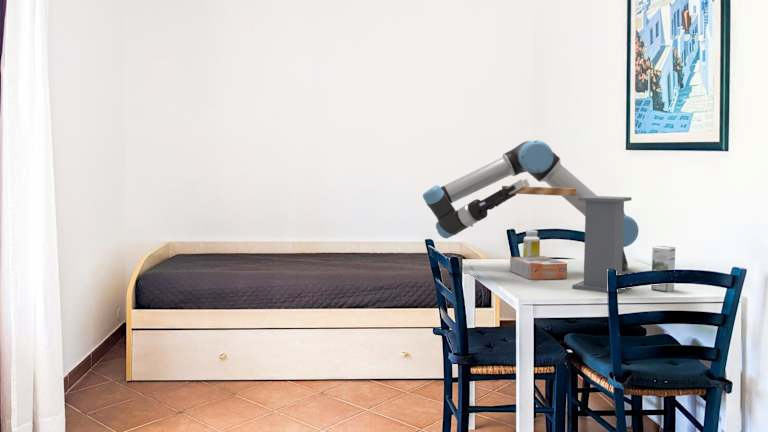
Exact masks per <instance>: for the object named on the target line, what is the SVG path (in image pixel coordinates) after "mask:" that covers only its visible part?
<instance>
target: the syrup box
mask: <svg viewBox="0 0 768 432" xmlns="http://www.w3.org/2000/svg"><path fill="white" fill-rule="evenodd" d="M651 257H652V258H651V272H652V271H654V270H675V269H676V268H675V266H676V247H675V246H668V245H667V246H666V245H665V246H664V245H656V246H655V245H654V246H652V256H651ZM650 286H651V290H652V291H659V292H667V293H668V292H672V291H674V290H675V283H674V284H659V285H652V284H651V285H650Z"/></svg>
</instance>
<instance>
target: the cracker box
mask: <svg viewBox="0 0 768 432" xmlns="http://www.w3.org/2000/svg"><path fill="white" fill-rule="evenodd" d="M509 260H510V261H509V264H510V266H509V269H510V270H509V272H511V273H513V274H516V275H518V276H521V277H524V278H525V279H528V280H530V281H533V280H558V279H559V280H560V279H567V278H568V275H567V274H568V263H567V262H564V261H560V260H557V259H555V258H551V257H548V256H544V255H540V256H532V257H523V256H511V257H510V259H509Z"/></svg>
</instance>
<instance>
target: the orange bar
mask: <svg viewBox="0 0 768 432" xmlns="http://www.w3.org/2000/svg"><path fill="white" fill-rule="evenodd" d="M509 186H510V185H502V186H501V190H503V189H505V188H507V187H509ZM512 194H516V195H517V194H518V195H537V196H559V197H560V196H561V197H562V196H576V188H552V187H551V186H548V187H547V186H546V187H545V186H529V187H523V188H521V189H519V190H518V191H516V192H514V193H512Z"/></svg>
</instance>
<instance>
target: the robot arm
mask: <svg viewBox="0 0 768 432" xmlns="http://www.w3.org/2000/svg"><path fill="white" fill-rule="evenodd" d="M523 173H528V174H529V175H531V176H532V177H533V178H534V179H535V180H536V181H537V182H539V183H540V182H544V183H546V184H547V185H548V186H549V187H552V188H576V196H561V197H563V199H565V200H566V201H567V202H568V203H569V204H570V205H572V206H573V207H574V208H575V209H577V211H579V212H580V213H581V214H582V215H583V216H584V217H585V213H586V201H580V200H578V197H586V196H598V195H597V194H596V193H595V192H594V191H592V190H591V189H590V188H589V187H588V186H587V185H586V184H584V183H583V182H582V181H581V180H580V179H579V178H577V177H576V176H575V175H574V174H573V173H572V172H570V171H569V170H568V169H567V168H566V167H565V166H563V165H562V163H561V158H560V156H558V155H557V154H556V153H555V152H554V151H553V150H552V148H551V147H550V145H548V144H547V143H546V142H544V141H541V140H538V139H534V140H532V139H531V140H526V141H523V142H522V143H520V144H519V145H517V146H515V147H514V148H512V149H510V150H509V151H506V152H504V153H503V154H502V156H501V157H500V158H498V159H496V160H494V161H492V162H490V163H488V164H486V165H483V166H482V167H479V168H478V169H476V170H474V171H471V172H469V173H468V174H465V175H463V176H461V177H458V178H457V179H454V180H453V181H450V182H448V183H447V184H444V185H443V186H439V185H437V184H436V185H434V186H433V187H431V188H430V189H427V190H426V191H425V192H424V193H423V194H422V198H423V199H424V202H425V203H426V206H428V208H429V209H430V210H431V212H432V213H433V215H434V216H435V218H436V220H437V222H436V224H435V228H436V230H437V233H438V235H439V236H440V237H441V238H444V239H449V238H452V237H453V236H456V235H458V234H459V233H461V232H463V231H464V230H465V229H467V228H469V227H474V224H476V223H478V222H480V221H481V220H484V219H486V218H487V216H488V210H489V211H491V210H493V209H494V208H495V207H499V206H500V205H501V204H503V203H504V202H507V201H508V200H510V199H512V198H513V197H515V196H517V194H512V193H514V192H516V191H518V190H519V189H521V188H523V187H531V184H530V182H529V180H528V179H527V178H525V179H522V178H520V180H517V181H516V182H514V183H512V184H511V185H508V186H509V187H507V188H505V189H503V190H502V189H499V190H498V191H496V192H494V193H493V194H491V195H489V196H487V197H486V198H484V199H477V198H475V199H474V200H472V201H470V202H469V203H467V204H465V205H463V206H462V207H460V208H459V209H455V207H454V206H453V205H452V204H453V203H455V202H458V201H459V200H461V199H463V198H466V197H467V196H470V195H472V194H474V193H475V192H476V193H477V192H478V191H480V190H482V189H485V188H486V187H488V186H491V185H492V184H493V185H494V184H496V183H497V182H499V181H501V180H504V179H505V178H508V177H509V176H511V177H515V176H518V175H520V174H523ZM638 236H639V225H638V223H637V221H635V219H634V218H633V217H632V216H629V215H626V214H625V213H624V220H623V253H622V271H627V270H628V269H629V267H628V265H629V264H628V263H629V262H628V261H627V256H626V254H625V249H624V248H625V247H628V246H631V245H632V244H633V243H635V241H636V240H637V238H638Z"/></svg>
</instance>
